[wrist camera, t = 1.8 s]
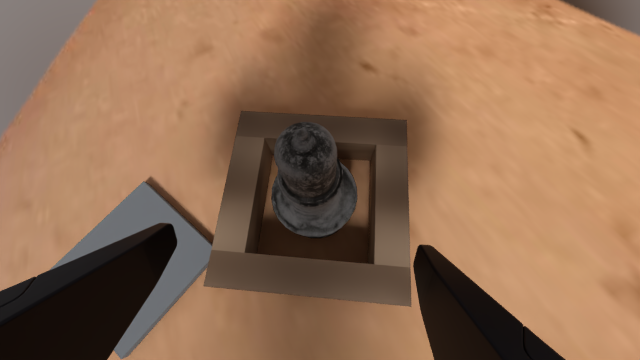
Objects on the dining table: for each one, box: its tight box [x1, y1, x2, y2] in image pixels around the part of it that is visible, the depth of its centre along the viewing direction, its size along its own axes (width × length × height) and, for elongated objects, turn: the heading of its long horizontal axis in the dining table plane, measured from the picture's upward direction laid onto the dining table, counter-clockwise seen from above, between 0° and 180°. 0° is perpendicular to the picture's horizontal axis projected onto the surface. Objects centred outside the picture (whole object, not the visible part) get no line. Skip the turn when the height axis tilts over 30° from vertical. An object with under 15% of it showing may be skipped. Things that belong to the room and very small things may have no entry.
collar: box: [204, 111, 411, 307], centre depth 19 cm, size 13×13×3 cm
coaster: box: [50, 181, 212, 359], centre depth 20 cm, size 9×9×1 cm
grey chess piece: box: [271, 122, 357, 238], centre depth 15 cm, size 6×6×12 cm
